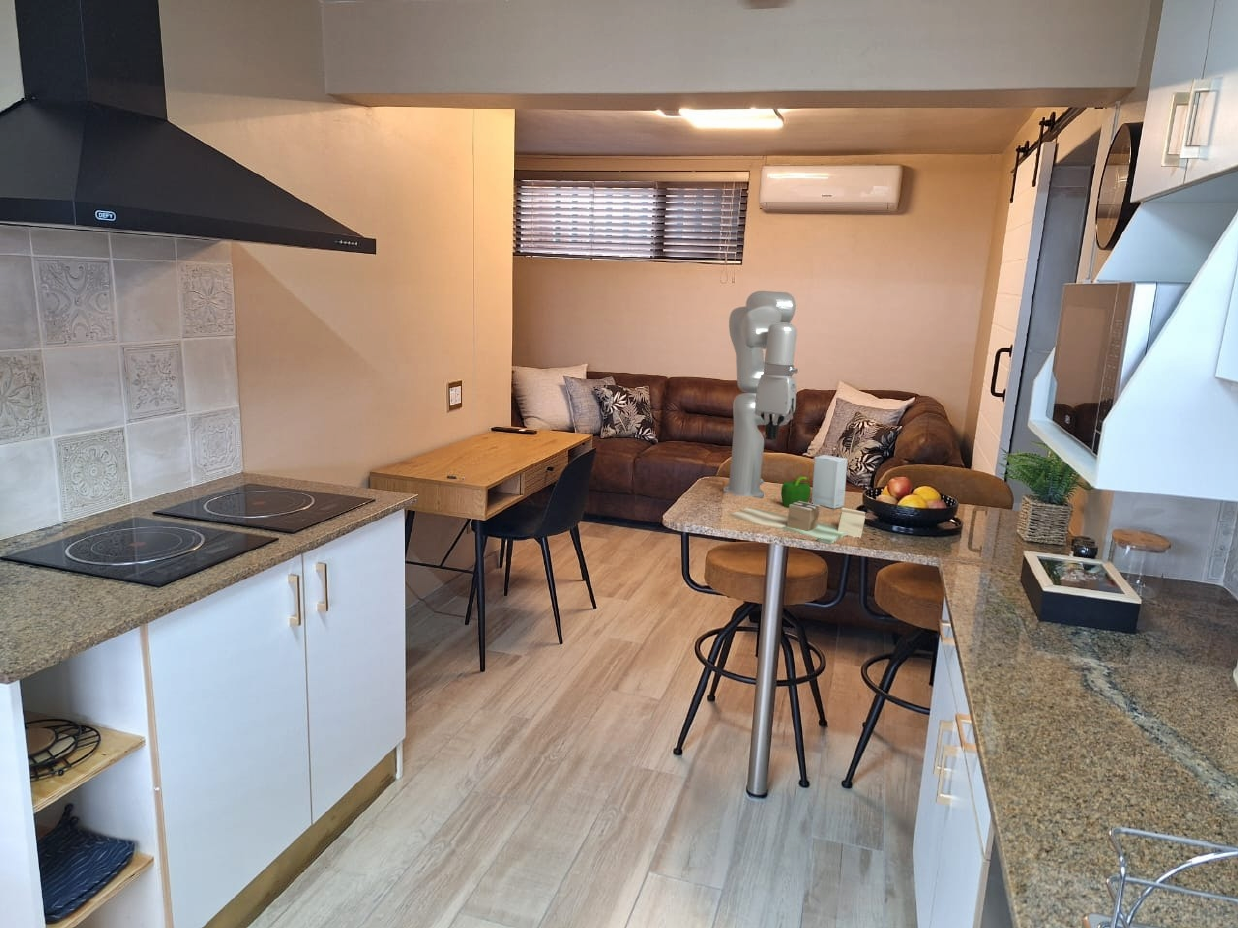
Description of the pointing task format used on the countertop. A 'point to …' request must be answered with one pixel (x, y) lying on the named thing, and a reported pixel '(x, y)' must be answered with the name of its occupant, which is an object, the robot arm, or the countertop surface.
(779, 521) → the board
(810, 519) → the walnut block
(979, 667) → the countertop surface
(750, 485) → the robot arm
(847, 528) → the beech block
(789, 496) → the bell pepper
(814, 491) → the skincare box
